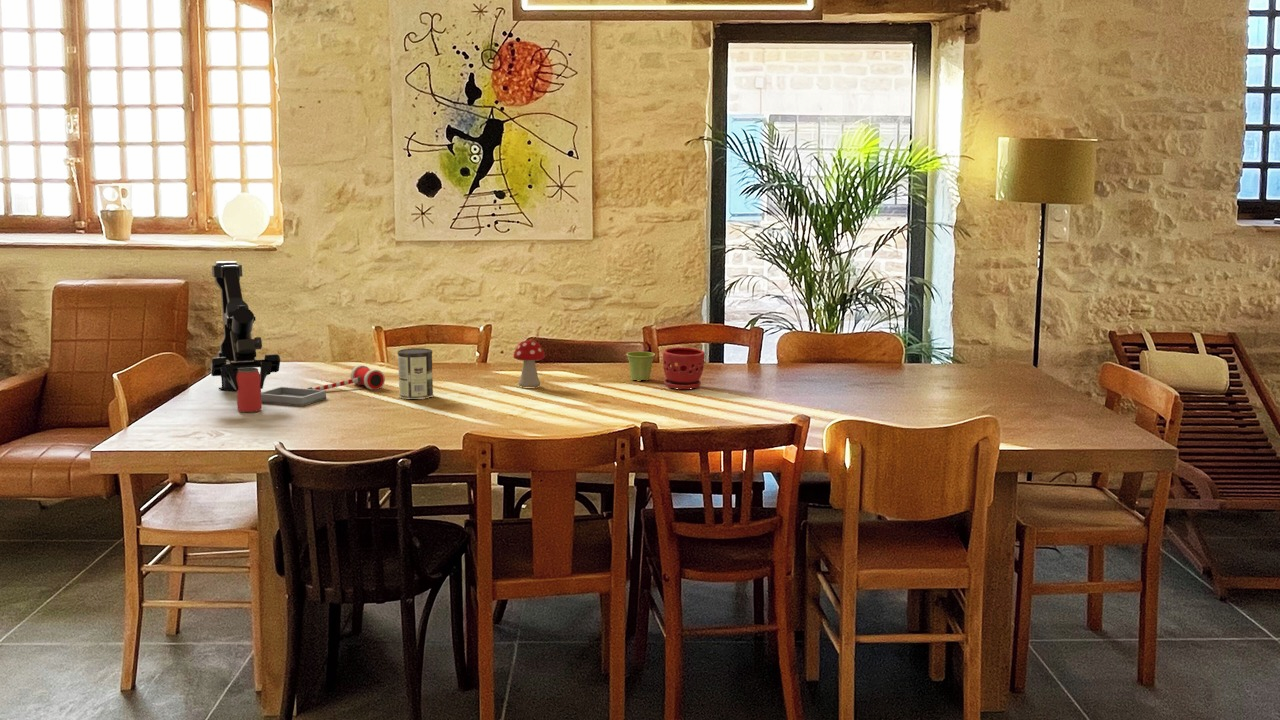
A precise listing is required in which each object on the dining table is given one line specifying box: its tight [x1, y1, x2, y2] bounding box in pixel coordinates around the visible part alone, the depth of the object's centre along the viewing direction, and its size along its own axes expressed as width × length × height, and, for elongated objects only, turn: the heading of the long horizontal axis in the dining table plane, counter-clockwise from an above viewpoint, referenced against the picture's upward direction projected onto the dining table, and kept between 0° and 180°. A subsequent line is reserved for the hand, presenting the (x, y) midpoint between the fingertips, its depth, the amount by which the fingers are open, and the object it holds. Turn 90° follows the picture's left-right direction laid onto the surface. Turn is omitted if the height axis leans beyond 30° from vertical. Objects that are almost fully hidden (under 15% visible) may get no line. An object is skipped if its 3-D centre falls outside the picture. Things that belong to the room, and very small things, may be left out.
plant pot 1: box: [625, 351, 656, 382], centre depth 416 cm, size 9×9×9 cm
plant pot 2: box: [662, 346, 706, 389], centre depth 403 cm, size 13×13×12 cm
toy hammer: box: [306, 364, 386, 391], centre depth 397 cm, size 23×12×6 cm, turn 127°
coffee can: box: [397, 347, 434, 400], centre depth 385 cm, size 10×10×14 cm
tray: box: [261, 386, 327, 407], centre depth 379 cm, size 16×12×2 cm
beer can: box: [236, 367, 263, 414], centre depth 363 cm, size 7×7×12 cm
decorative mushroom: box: [513, 339, 546, 387], centre depth 401 cm, size 10×9×15 cm
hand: (249, 388), depth 362 cm, fingers closed on beer can, 6 cm apart
